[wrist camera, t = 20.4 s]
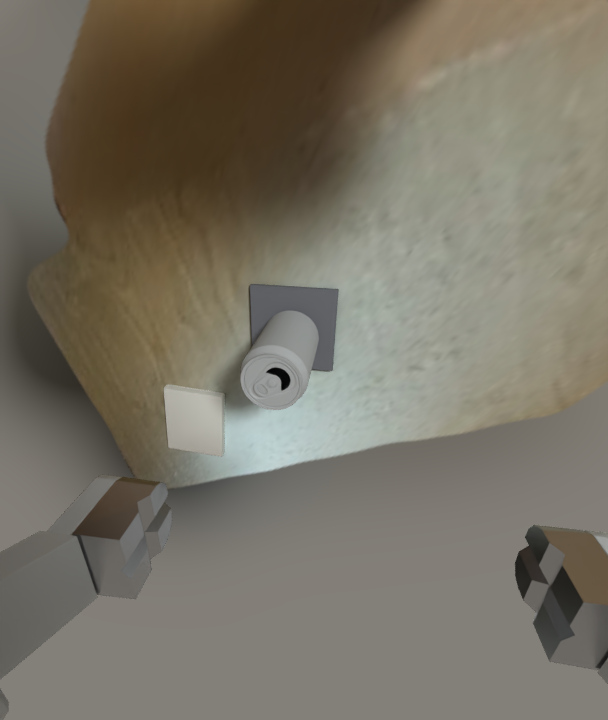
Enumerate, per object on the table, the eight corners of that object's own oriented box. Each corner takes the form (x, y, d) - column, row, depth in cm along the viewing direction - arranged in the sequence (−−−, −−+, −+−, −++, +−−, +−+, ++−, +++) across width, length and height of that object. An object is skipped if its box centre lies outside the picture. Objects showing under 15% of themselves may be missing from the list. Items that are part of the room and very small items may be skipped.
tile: (163, 388, 48) (168, 447, 52) (222, 397, 47) (222, 456, 51) (169, 382, 49) (173, 440, 53) (226, 391, 48) (225, 449, 53)
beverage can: (330, 340, 42) (321, 393, 32) (287, 367, 45) (266, 424, 34) (297, 297, 40) (276, 337, 30) (255, 327, 43) (221, 374, 32)
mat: (251, 283, 41) (250, 285, 41) (338, 289, 40) (338, 290, 40) (253, 362, 45) (252, 364, 45) (332, 368, 44) (332, 370, 44)
